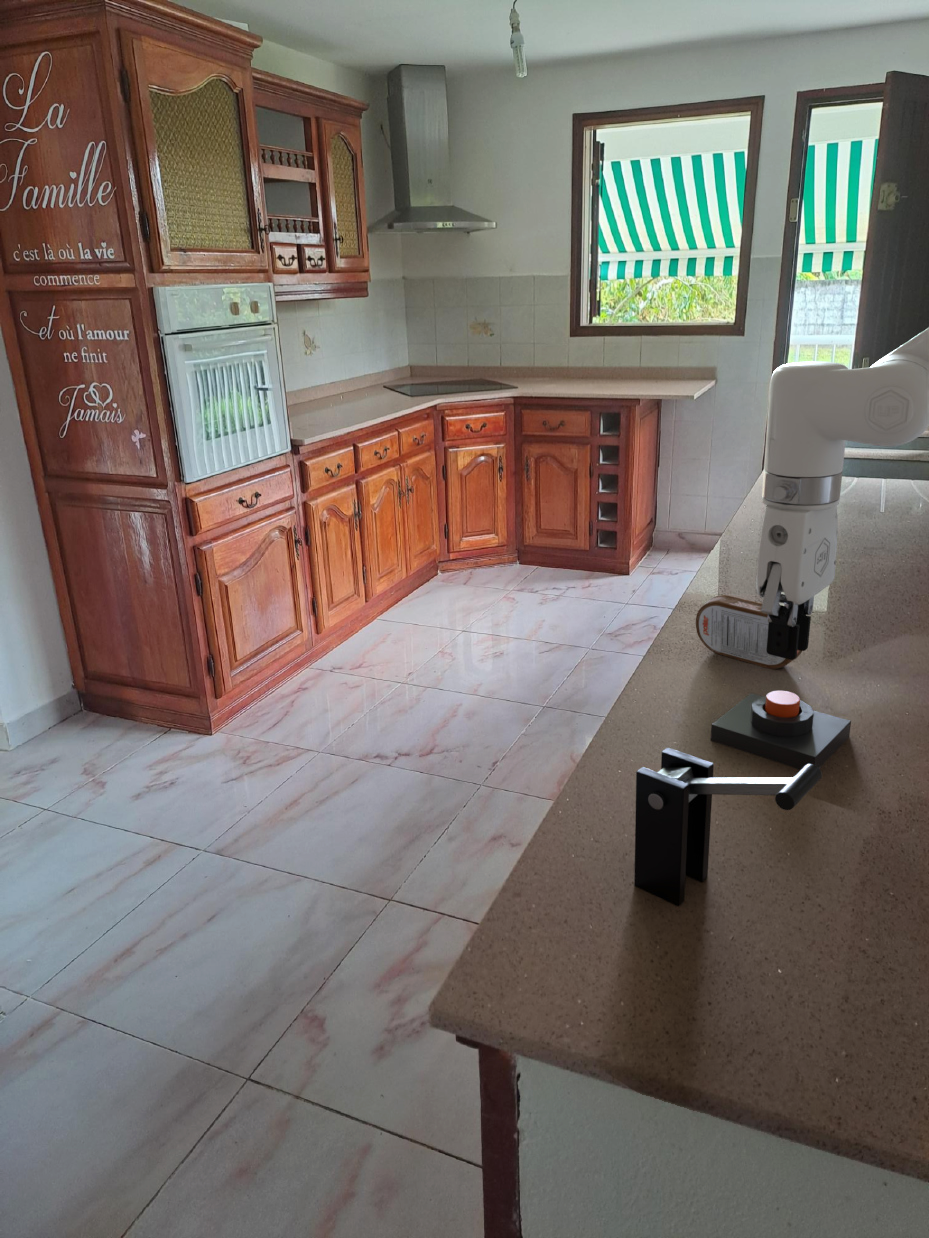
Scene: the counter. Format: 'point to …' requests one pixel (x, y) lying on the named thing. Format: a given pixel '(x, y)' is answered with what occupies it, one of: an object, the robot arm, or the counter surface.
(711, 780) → the lever
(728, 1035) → the counter surface
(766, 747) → the control block
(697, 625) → the tin
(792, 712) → the button
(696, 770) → the bracket
